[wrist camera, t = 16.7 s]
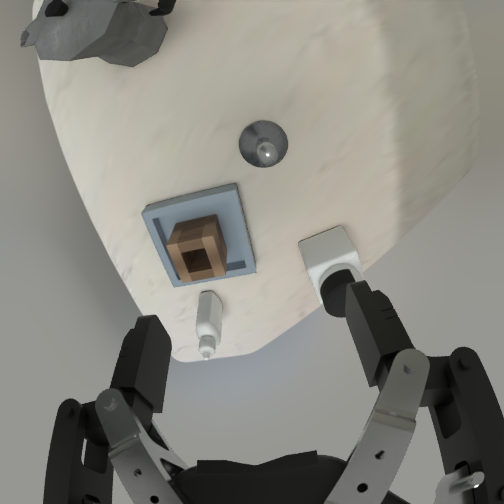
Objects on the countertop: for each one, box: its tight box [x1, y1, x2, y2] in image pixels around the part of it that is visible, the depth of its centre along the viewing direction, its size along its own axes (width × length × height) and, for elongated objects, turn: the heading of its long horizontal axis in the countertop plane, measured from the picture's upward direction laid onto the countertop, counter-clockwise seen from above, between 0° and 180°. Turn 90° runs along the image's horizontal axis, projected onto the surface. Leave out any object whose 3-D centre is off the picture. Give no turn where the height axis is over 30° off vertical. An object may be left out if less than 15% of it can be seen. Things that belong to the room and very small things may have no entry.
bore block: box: [166, 214, 227, 283], centre depth 37 cm, size 6×6×6 cm
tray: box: [141, 183, 256, 287], centre depth 38 cm, size 13×13×3 cm
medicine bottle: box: [298, 226, 364, 318], centre depth 37 cm, size 7×7×12 cm
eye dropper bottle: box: [196, 291, 222, 360], centre depth 42 cm, size 4×6×12 cm
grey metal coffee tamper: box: [239, 121, 288, 168], centre depth 30 cm, size 6×6×7 cm
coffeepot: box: [21, 0, 176, 67], centre depth 16 cm, size 15×9×18 cm, turn 90°
